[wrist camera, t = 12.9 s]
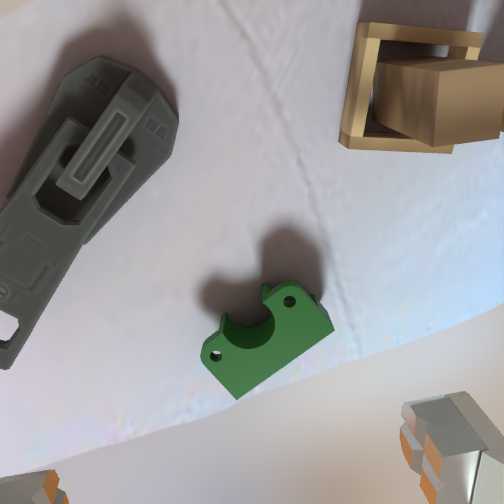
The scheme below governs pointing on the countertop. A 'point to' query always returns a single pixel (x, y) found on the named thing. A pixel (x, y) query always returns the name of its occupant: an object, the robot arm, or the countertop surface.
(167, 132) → the zipper pull
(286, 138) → the countertop surface
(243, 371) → the clamp
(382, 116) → the wooden block
